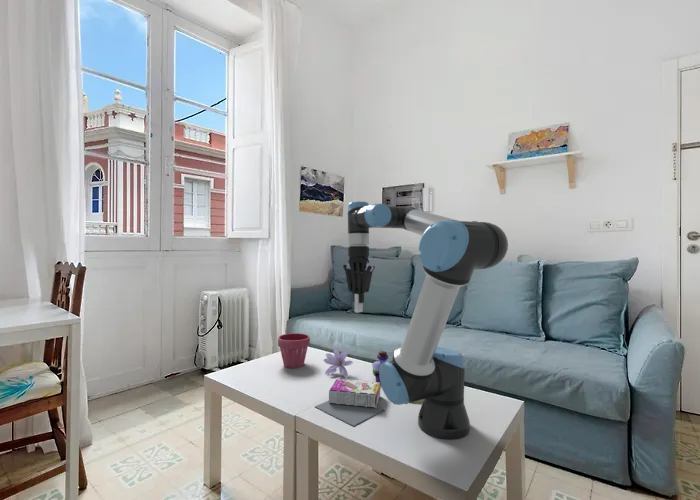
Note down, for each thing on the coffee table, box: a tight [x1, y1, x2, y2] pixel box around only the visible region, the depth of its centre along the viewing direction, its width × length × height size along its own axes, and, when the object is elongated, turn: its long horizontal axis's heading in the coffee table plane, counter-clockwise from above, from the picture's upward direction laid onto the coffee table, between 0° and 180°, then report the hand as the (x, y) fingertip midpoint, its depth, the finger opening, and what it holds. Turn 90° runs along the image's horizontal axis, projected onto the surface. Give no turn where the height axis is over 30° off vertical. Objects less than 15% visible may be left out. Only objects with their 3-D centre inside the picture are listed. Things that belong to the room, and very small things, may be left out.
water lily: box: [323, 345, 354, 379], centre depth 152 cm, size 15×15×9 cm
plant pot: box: [277, 332, 311, 369], centre depth 162 cm, size 14×14×13 cm
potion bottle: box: [371, 350, 389, 385], centre depth 142 cm, size 9×9×12 cm
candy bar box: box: [328, 378, 381, 408], centre depth 125 cm, size 11×5×16 cm
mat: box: [314, 400, 386, 427], centre depth 119 cm, size 18×15×1 cm
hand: (358, 311), depth 127 cm, fingers closed
